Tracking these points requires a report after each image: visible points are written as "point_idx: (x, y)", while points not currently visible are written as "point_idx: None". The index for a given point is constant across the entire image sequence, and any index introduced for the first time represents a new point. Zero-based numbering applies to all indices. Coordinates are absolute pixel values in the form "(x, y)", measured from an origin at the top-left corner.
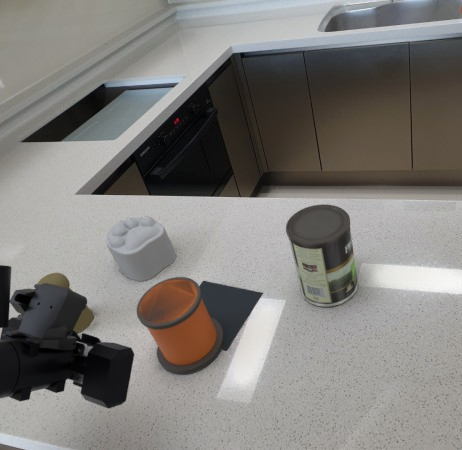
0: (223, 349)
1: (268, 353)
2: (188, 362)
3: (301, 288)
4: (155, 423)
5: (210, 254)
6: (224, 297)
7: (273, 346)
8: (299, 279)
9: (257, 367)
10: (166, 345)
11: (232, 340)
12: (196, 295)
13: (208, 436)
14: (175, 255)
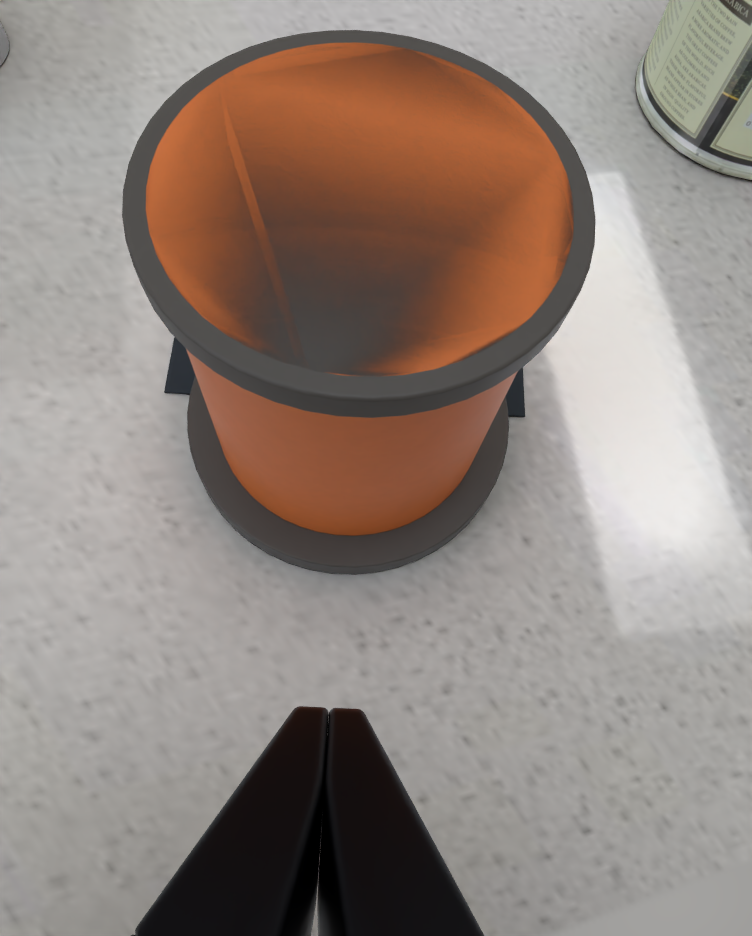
0: (508, 414)
1: (701, 394)
2: (422, 514)
3: (696, 113)
4: None
5: (172, 15)
6: None
7: (701, 362)
8: (728, 65)
9: (699, 461)
10: (371, 478)
11: (522, 367)
12: (544, 137)
13: (707, 828)
14: (2, 25)
